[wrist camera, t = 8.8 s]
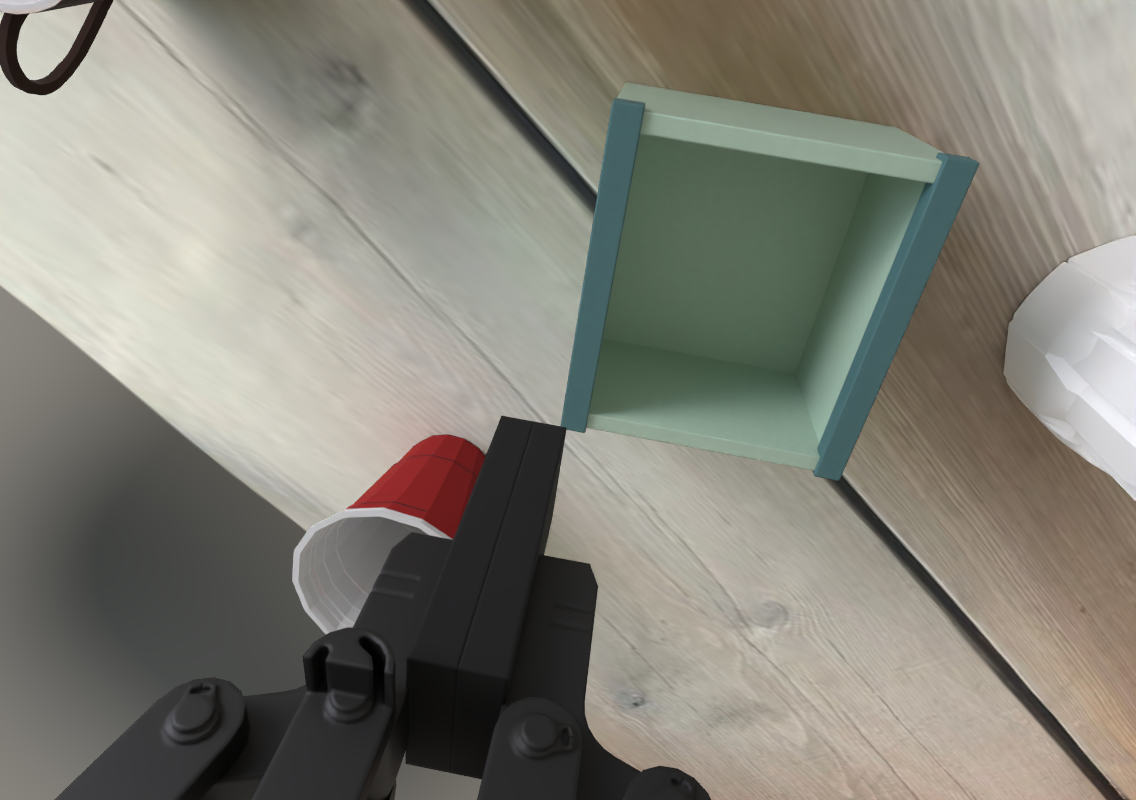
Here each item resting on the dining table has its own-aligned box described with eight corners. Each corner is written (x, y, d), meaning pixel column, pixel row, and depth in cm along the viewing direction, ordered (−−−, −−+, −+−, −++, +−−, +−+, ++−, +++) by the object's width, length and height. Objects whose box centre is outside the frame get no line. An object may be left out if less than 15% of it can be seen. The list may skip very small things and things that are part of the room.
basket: (612, 100, 24) (981, 162, 24) (626, 77, 32) (903, 123, 31) (560, 429, 32) (839, 481, 31) (581, 344, 39) (805, 385, 39)
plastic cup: (488, 378, 41) (429, 500, 31) (552, 511, 46) (518, 655, 36) (343, 420, 45) (245, 543, 34) (416, 540, 49) (349, 680, 39)
